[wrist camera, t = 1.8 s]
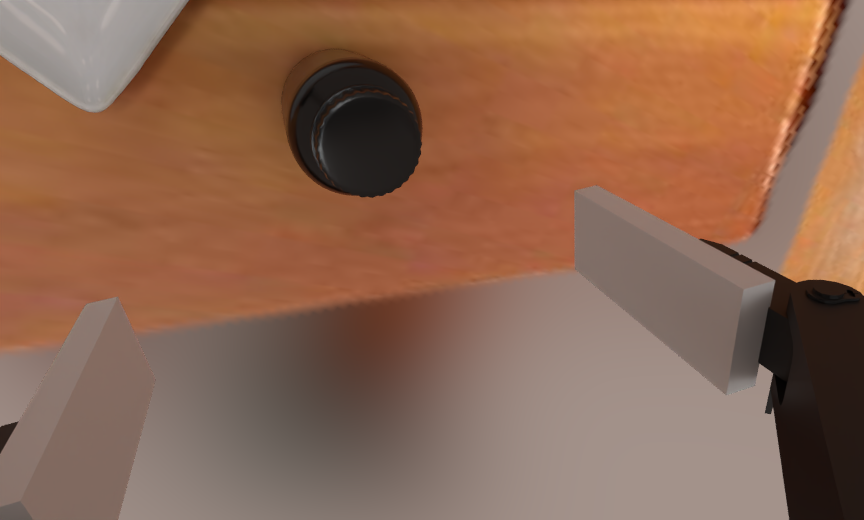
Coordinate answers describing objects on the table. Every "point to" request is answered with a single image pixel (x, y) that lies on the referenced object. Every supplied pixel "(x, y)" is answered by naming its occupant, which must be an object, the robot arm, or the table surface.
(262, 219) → the table surface
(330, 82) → the supplement bottle
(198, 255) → the table surface
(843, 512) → the robot arm
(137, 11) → the square plate
